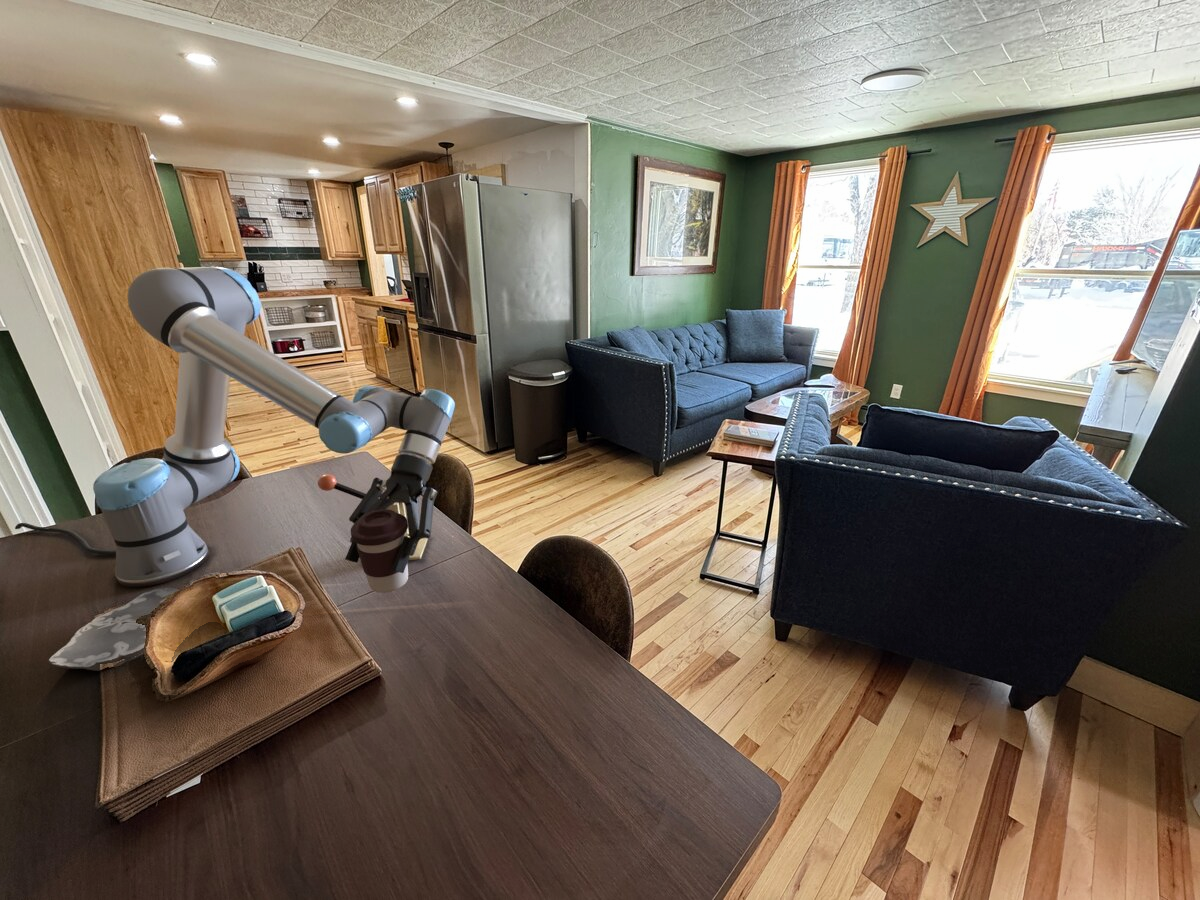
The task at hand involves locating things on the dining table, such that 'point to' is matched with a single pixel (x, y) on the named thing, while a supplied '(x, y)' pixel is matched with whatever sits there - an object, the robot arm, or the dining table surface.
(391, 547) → the coffee cup
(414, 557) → the bracket
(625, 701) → the dining table surface
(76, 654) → the grey stone slab
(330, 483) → the lever
